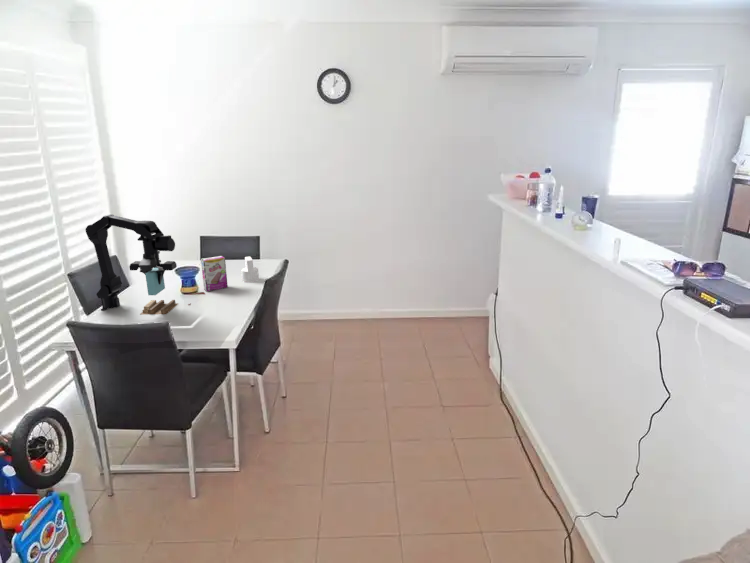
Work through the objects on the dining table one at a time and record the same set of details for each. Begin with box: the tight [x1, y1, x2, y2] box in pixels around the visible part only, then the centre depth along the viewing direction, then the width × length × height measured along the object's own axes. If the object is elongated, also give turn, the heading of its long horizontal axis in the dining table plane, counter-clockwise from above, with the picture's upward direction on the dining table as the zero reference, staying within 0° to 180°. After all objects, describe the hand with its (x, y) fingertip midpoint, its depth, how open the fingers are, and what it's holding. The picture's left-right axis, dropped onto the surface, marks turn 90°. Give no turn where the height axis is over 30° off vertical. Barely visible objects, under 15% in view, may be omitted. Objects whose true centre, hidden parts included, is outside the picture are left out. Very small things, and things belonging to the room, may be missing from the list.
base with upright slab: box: [240, 256, 260, 283], centre depth 270 cm, size 9×9×12 cm
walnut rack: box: [139, 299, 180, 316], centre depth 227 cm, size 12×14×3 cm
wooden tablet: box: [187, 291, 206, 306], centre depth 240 cm, size 27×10×2 cm, turn 19°
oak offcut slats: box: [141, 299, 158, 313], centre depth 227 cm, size 3×10×2 cm, turn 179°
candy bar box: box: [200, 255, 228, 292], centre depth 256 cm, size 11×5×16 cm, turn 126°
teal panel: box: [144, 268, 166, 296], centre depth 224 cm, size 3×10×10 cm, turn 179°
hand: (155, 284), depth 224 cm, fingers closed on teal panel, 3 cm apart
